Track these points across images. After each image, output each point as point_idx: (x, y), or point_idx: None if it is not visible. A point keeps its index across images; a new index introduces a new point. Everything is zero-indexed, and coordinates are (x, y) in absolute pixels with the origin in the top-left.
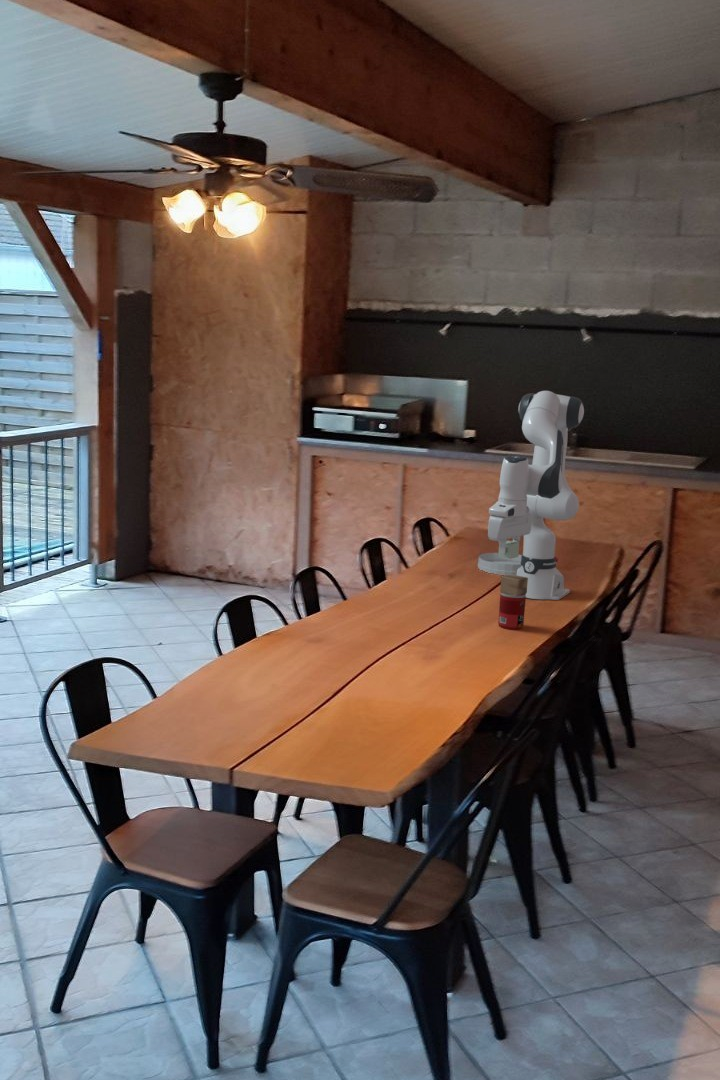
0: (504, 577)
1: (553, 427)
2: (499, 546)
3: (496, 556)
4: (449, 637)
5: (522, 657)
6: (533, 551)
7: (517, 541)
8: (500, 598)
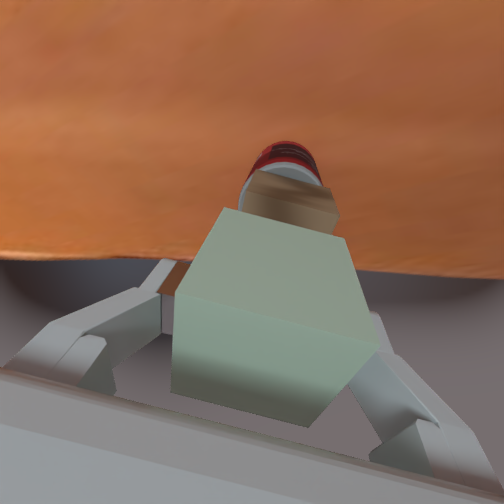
0: (243, 207)
1: None
2: (195, 262)
3: None
4: (72, 61)
5: (99, 251)
6: None
7: (374, 419)
8: (259, 165)
